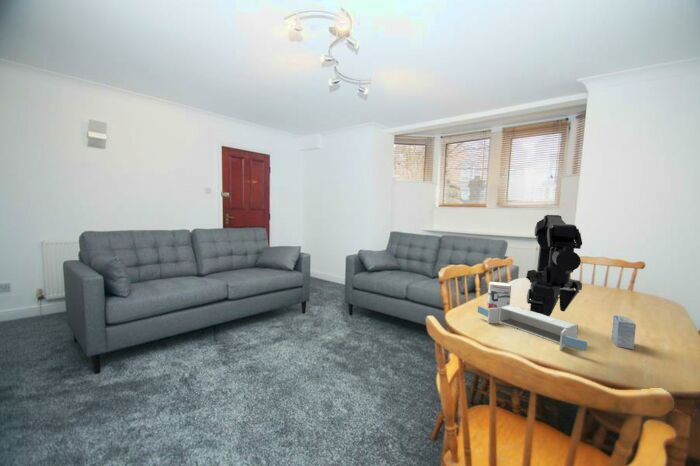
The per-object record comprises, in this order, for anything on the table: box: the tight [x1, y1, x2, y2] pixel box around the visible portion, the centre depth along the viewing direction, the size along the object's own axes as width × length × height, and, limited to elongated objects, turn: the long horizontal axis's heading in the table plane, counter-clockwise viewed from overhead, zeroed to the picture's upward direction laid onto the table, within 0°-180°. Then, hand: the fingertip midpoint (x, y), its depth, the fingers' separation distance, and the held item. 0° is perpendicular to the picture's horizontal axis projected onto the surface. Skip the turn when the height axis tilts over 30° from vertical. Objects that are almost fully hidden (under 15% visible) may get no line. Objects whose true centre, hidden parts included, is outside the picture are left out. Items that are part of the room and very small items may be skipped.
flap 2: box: [559, 328, 588, 351], centre depth 94 cm, size 7×5×6 cm
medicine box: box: [611, 314, 637, 350], centre depth 102 cm, size 8×4×9 cm, turn 148°
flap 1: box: [477, 305, 500, 324], centre depth 120 cm, size 7×5×6 cm
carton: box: [498, 304, 579, 347], centre depth 110 cm, size 7×24×6 cm, turn 30°
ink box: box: [487, 281, 512, 309], centre depth 135 cm, size 8×5×12 cm, turn 72°
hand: (555, 313), depth 95 cm, fingers open, 9 cm apart
